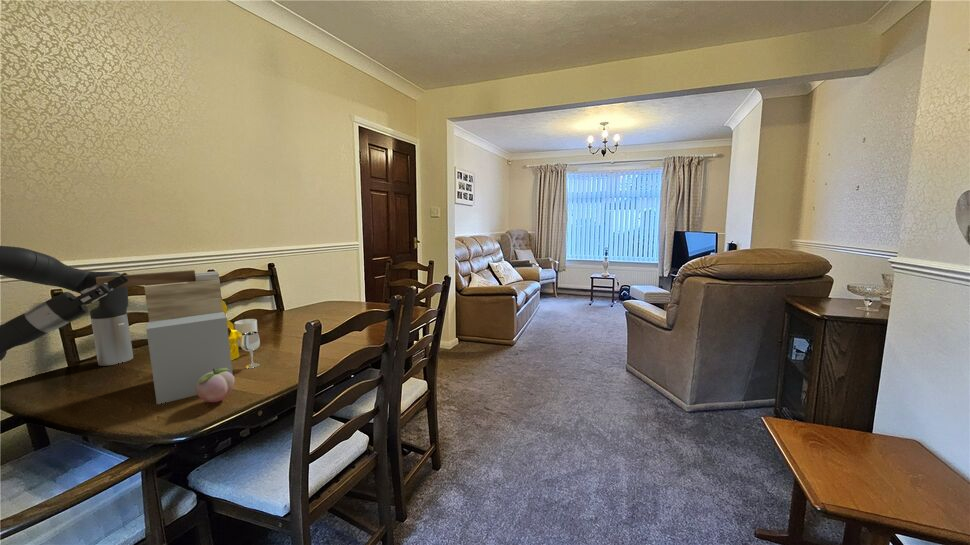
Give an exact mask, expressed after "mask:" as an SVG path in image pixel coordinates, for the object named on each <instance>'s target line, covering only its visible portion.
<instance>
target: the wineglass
mask: <svg viewBox="0 0 970 545" xmlns="http://www.w3.org/2000/svg"><path fill="white" fill-rule="evenodd" d="M260 345H261V339H260V335H259V333H258V331H257V332H255V331H252V332H246V333H243V334H242V335H241V347H240V348H241V349H242V350H243V351H245V352H249V356H250V361H251V363H250V364H247V365H245V366H244V367H245V369H248V368H249V369H255V368H258V367H259V365H261V364H260V363H258V362H257V363H255V362H254V359H253V357H254V352H253V351H256V350H257V349H258V348H259V347H260ZM257 366H258V367H257ZM254 367H255V368H254Z"/></svg>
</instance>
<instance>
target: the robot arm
mask: <svg viewBox="0 0 970 545" xmlns="http://www.w3.org/2000/svg"><path fill="white" fill-rule="evenodd" d="M117 275H121V276H119V277H117V278H115V279H113V280H111V281H109V282H108V283H109V284H108V283H107V282H106V283H103V284H102V285H97V283H96V278H97V277H103V276H117ZM124 275H129V274H128V273H127V272H123V273H120V272H116V271H90V270H85V269H80V268H77V267H76V268H75V267H72V266H70V265H67V264H64V263H63V262H62V261H61V260H58V259H57V258H55V257H53V256H51V255H48V254H46V253H43V252H42V253H41V252H39V251H35V250H33V249H29V248H24V247H20V246H11V245H10V246H8V245H0V276H3V277H6V278H10V279H14V280H18V281H22V282H28V283H33V284H38V285H45V286H50V287H51V286H52V287H56V288H57V287H58V288H61V289H64V290H68V291H64V292H62V293H60V294H57V295H56V296H54V297H52V298H50V299H47V300H46V301H43V302H41V303H39V304H37V305H36V306H34V307H32V308H31V309H29V310H27V311H25V312H24V313H21V314H20V315H18V316H16V317H13V318H12V319H9V320H8V321H6V322H4V323H2V324H0V362H1V361H3V359H5V357H6V355H7V353H8V351H9V350H11V349H13V348H16V347H18V346H23V345H24V346H25V345H26V344H29V343H31V342H33V341H35V340H38V339H39V338H41V337H43V336H45V335H47V334H49V333H50V332H53V331H55V330H58V329H60V328H62V327H64V326H66V325H67V324H69V323H71V322H73V321H75V320H77V319H79V318H80V317H82V316H84V315H86V314H88V313H89V316H90V321H91V328H92V332H93V333H92V334H93V339H94V347H95V353H96V359H97V365H98V366H103V367H104V366H113V365H119V364H123V363H127V362H128V361H131V360H133V359H134V353H133V352H134V351H133V346H132V345H133V344H132V338H131V332H130V326H129V320H128V313H127V312H128V311H127V310H128V307H129V294H128V292H129V291H128V287H119V288H116V287H118V286H120V285H122V284H124V283H126V282H127V281H128V279H127V278H126V277H125V276H124ZM70 291H71V292H75V293H77V294H80V295H75V294H73V293H71V292H70ZM97 301H98V305H97V307H94V308H92V309H91V310H90V311H89V308H88V306H87V305H89V304H91V305H92V304H93V303H95V302H97ZM122 362H123V363H122ZM118 363H119V364H118Z"/></svg>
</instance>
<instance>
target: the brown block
mask: <svg viewBox="0 0 970 545" xmlns="http://www.w3.org/2000/svg"><path fill="white" fill-rule="evenodd" d="M119 276H121V275H117V276H103V277H97V278H96V283H97V285H102V284H103V283H106V282H107V283H108V282H109V281H111V280H113V279H115V278H117V277H119ZM124 276H125V277H126V278H127V279H128V281H127V282H126V283H124V284H122V285H120V286H118V287H116V288H119V287H127V288H128V287H139V286H142V287H143V286H145V285H154V284H166V283H178V282H189V281H196V282H201V281H212V280H220V274H219V272H218V271H217V270H215V271H203V272H201V271H200V272H196V271H195V269H193V270H192V269H191V270H177V271H176V270H175V271H163V272H150V273H149V272H148V273H135V274H128V275H124ZM108 284H109V283H108Z"/></svg>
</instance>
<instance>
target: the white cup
mask: <svg viewBox="0 0 970 545" xmlns="http://www.w3.org/2000/svg"><path fill="white" fill-rule="evenodd" d="M233 325H234V330H237V331H238V332H239V333H241V334H243V333H246V332H252V331H255V332H257V333H258V320H257V319H256V318H245V319H240V320H237V321H235V322H234V323H233ZM237 343H238V348H241V340H239V339H237Z"/></svg>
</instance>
